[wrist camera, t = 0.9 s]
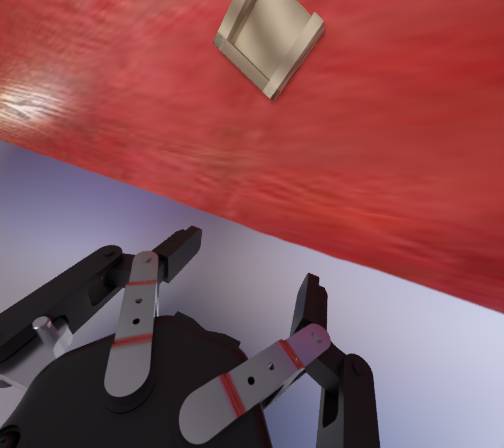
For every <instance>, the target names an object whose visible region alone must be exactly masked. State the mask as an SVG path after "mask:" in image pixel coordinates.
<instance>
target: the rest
mask: <svg viewBox="0 0 504 448" xmlns="http://www.w3.org/2000/svg"><path fill="white" fill-rule="evenodd" d="M323 33H324V21H323V20H322V19H321V18H320V17H319V16H318V15H317V14H316V13H314V14H313V16H311V15H310V14H309V13H308V12H307V11H306V9H305V8H304V7H303V6H302V5H301V4H300V3H299V2H298V1H297V0H232V2H231V4H230V6H229V8H228V11H227V13H226V15H225V17H224V19H223V22H222V24H221V26H220V28H219V30H218V33H217V35H216V37H215V39H214V41H213V44H214V45H215V46H216V47H217V48H218V49H219V50H220V51H221V52H222V53H223V54H225V55H226V56H227V57H228V58H229V59H230V60H231V61H232V62H233V63H234V64H235V65H236V66H237V67H238V68H239V69H240V70H241V71H242V72H243V73H244V74H245V75H246V76H247V77H248V78H249V79H250V80H251V81H252V82H253V83H254V84H255V85H256V86H257V87H258V88H259V89H260V90H261V91H262V92H263V93H264V94H265V95H266V96H268V97H269V98H270V99H273V100H276V99H277V97H278V96H279V94H280V93H281V92H282V90H283V89H284V87H285V86H286V85H287V83H288V82H289V80H290V79H291V78H292V76H293V75H294V73H295V72H296V71H297V69H298V68H299V66H300V65H301V64H302V62H303V61H304V59H305V58H306V56H307V55H308V54H309V52H310V51H311V49H312V48H313V47H314V45H315V44H316V42H317V41H318V40H319V38H320V37H321V35H322V34H323Z"/></svg>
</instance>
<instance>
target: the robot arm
mask: <svg viewBox="0 0 504 448" xmlns="http://www.w3.org/2000/svg"><path fill="white" fill-rule="evenodd" d="M201 237H202V229H200V228H197V227H195V226H191V227H189V228H188V229H187V230H183V229H182V230H180V231H177V232H175V233H174V234H173V235H171V237H169V238H168V239H167V240H165V241H164V242H162V243H161V244H160V245H159V246H157V247H156V248H155V249H153V250H152V251H143V252H140V253H138V254H137V255H131V254H124V253H122V249H121V248H120V247H119V246H115V245H108V246H104V247H102V248H100V249H98V250H97V251H95V252H93V253H92V254H90V255H89V256H87V257H86V258H84V259H83V260H81V261H80V262H78V263H77V264H75V265H74V266H72V267H71V268H69V269H68V270H66V271H64V272H63V273H61V274H60V275H58V276H57V277H55V278H54V279H52V280H51V281H49V282H48V283H46V284H45V285H43V286H42V287H40V288H39V289H37V290H35V291H34V292H32V293H31V294H29V295H28V296H26V297H25V298H24V299H22V300H20V301H19V302H17V303H16V304H14V305H13V306H11V307H10V308H8V309H7V310H5V311H3V312H2V313H0V388H6V387H10V386H15V387H17V388H19V389H21V390H23V391H25V392H26V393H25V394H24V396H23V398H22V400H21V401H20V403H19V404H18V406H17V407H16V409H15V410H14V411H13V413H12V414H11V416H10V417H9V418H8V419H7V421H6V422H5V423H4V424H3V425H2V427H1V428H0V448H273V447H272V443H271V439H270V435H269V431H268V428H267V424H266V420H265V415H264V412H263V411H264V410H265V409H266V408H267V407H268V406H270V405H271V404H272V403H273V402H274V401H276V399H278V398H279V397H280V396H281V395H282V394H283V393H284V392H285V391H286V390H287V389H288V388H290V387H291V386H292V385H293V384H294V383H295V382H297V381H298V380H299V379H300V378H301V377H302V376H304V375H305V374H306V373H308V374H309V375H310V376H311V377H312V378H313V379H314V380H315V381H316V382H317V383H318V384H319V385H320V386H321V387H322V389H321V400H320V410H319V421H318V432H317V443H316V448H380V441H379V431H378V420H377V410H376V400H375V390H374V380H373V373H372V371H371V368H370V366H369V365H368V364H367V362H365V360H364V359H363V358H361V357H360V356H358V355H356V354H348V355H346V354H344V353H343V352H342V351H341V350H339V349H338V348H337V347H336V346H335V345H334V344H333V343H332V342H331V340H330V336H329V334H328V333H327V298H328V296H327V292H326V290H325V288H324V287H322V286H319V277H318V276H315V275H313V274H310V273H308V274H307V276H306V277H305V279H304V281H303V283H302V285H301V287H300V289H299V292H298V295H297V300H296V305H295V311H294V316H293V322H292V327H291V332H290V337H289V338H288V339H286V340H284V341H283V340H279V341H277V342H275V343H274V344H272V345H271V346H269V347H267V348H266V349H264V350H263V351H261V352H259V353H258V354H256V355H255V356H253V357H252V358H250V359H248V357H247V356H246V354H245V353H244V352H243V351H242V350H241V349H240V348H239V345H240V341H237V340H236V339H234V338H232V337H230V336H227V335H225V334H222V333H217V332H211V331H207V330H205V329H204V328H202V327H201V326H200V325H199V324H198V323H197V322H196V321H195V320H194V319H192V318H191V317H188V316H186V315H184V314H182V313H180V312H178V311H177V313H176V314H175V315H174V316H169V315H164V316H158V307H159V284H160V283H161V282H162V281H164V282H166V283H169V282H170V281H171V280H172V279H173V278H174V277H175V276H176V275H177V274H178V273H179V272H180V271H181V270H182V268H183V267H184V266H185V265H186V264H187V263H188V262H189V261H190V260H191V259H192V258H193V257H194V256H195V255H196V254H197V252H198V251H199V249H200V245H201ZM122 288H125V291H124V296H123V301H122V306H121V311H120V316H119V321H118V325H117V330H116V333H114V334H111V335H109V336H106V337H104V338H101V339H99V340H96V341H94V342H91V343H89V344H86V345H84V346H81V347H79V348H76V349H74V350H71V351H69V352H67V353H65V352H66V349H67V348H68V347H69V346H70V344H71V342H72V340H73V334H74V333H75V332H76V331H77V330H78V329H79V328H80V327H81V326H82V325H84V324H85V323H86V322H87V321H88V320H89V319H90V318H91V317H92V316H93V315H94V314H95V313H96V312H97V311H98V310H99V309H101V308H102V307H103V306H104V305H105V304H106V303H107V302H108V301H109V300H110V299H111V298H112V297H113V296H115V295H116V294H117V293H118V292H119V291H120V290H121V289H122Z"/></svg>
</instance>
